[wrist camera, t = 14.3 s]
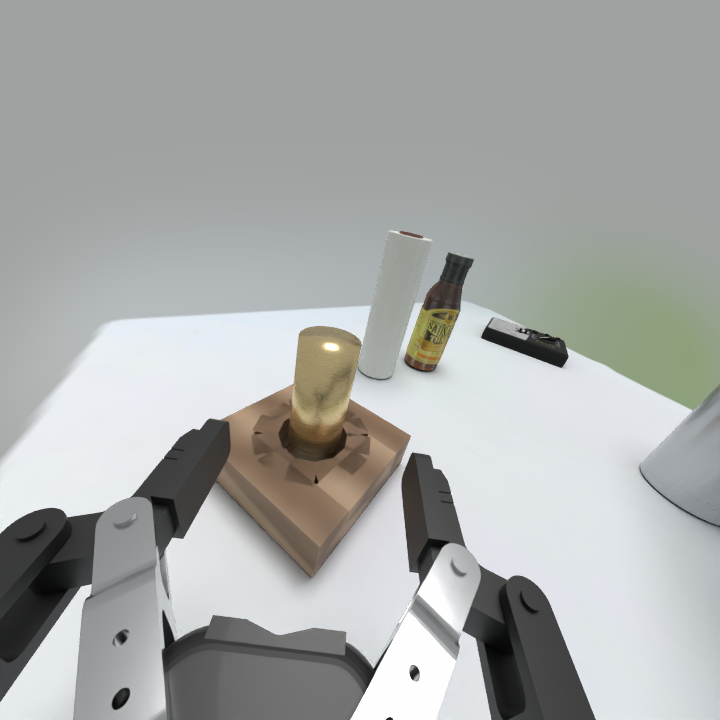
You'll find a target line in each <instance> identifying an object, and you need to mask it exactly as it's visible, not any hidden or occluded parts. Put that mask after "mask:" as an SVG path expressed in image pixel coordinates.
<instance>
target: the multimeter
mask: <svg viewBox="0 0 720 720" xmlns="http://www.w3.org/2000/svg"><path fill="white" fill-rule="evenodd" d="M481 338H482V339H485V340H488V341H490V342H493V343H496V344H498V345H501V346H504V347H506V348H509V349H512V350H514V351H517V352H520V353H523V354H525V355H528V356H531V357H533V358H536V359H539V360H541V361H544V362H547V363H549V364H552V365H555V366H558V367H561V368H562V367H563V365H564V364H565V363H566V361H567V359H568V353H567V349H566V346H565V342H564V341H563V340H560V338H554V337H552V336H549V335H548V334H543V333H539V332H537V331H535V330H531V329H528V328H525V327H522V326H519V325H516V324H513V323H510V322H507V321H504V320H501V319H498V318H495V317H494V318H492V319H491V320H490V322H489V323H488V325H487V326H486V328H485V330H484V332H483V334H482V337H481Z"/></svg>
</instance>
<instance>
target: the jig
mask: <svg viewBox="0 0 720 720" xmlns="http://www.w3.org/2000/svg"><path fill="white" fill-rule="evenodd" d="M293 386H294V384H293V385H291V386H289V387H287V388H285V389H283V390H280V391H278V392H276V393H274V394H272V395H270V396H268V397H266V398H264V399H262V400H260V401H258V402H256V403H254V404H252V405H250V406H248V407H246V408H244V409H242V410H240V411H238V412H236V413H234V414H232V415H230V416H228V417H226V418H224V419H221V420H222V421H228V422H229V425H230V441H231V449H230V454H229V457H228V459H227V461H226V463H225V465H224V467H223V469H222V470H221V472H220V474H219V476H218V477H217V479H216V481H217V482H218V483H219V484H220V485H221V486H222V487H223V488H224V489H225V490H226V491H227V492H228V493H229V494H230V495H231V496H232V497H233V498H234V499H235V501H236V502H237V503H238V504H239V505H240V506H241V507H242V508H243V509H244V510H245V511H246V512H247V513H248V514H249V515H250V516H251V517H252V518H253V519H254V520H255V521H256V522H257V523H258V524H259V525H260V526H261V527H262V528H263V529H264V530H265V531H266V532H267V533H268V534H269V535H270V536H271V537H272V538H273V539H274V540H275V541H276V542H277V543H278V544H279V545H280V546H281V547H282V548H283V549H284V550H285V551H286V552H287V553H288V554H289V555H290V556H291V557H292V558H293V559H294V560H295V561H296V562H297V563H298V564H299V565H300V566H301V567H302V568H303V569H304V570H305V571H306V572H307V573H308V574H309V575H310V576H311V577H312V578H313V576H314V575H315V574H316V572H317V571H318V570H319V568H320V567H321V566H322V564H323V563H324V562H325V561H326V559H327V558H328V557H329V555H330V554H331V553H332V551H333V550H334V549H335V548H336V546H337V545H338V544H339V542H340V541H341V540H342V538H343V537H344V536H345V534H346V533H347V532H348V531H349V529H350V528H351V527H352V525H353V524H354V523H355V521H356V520H357V519H358V517H359V516H360V515H361V514H362V512H363V511H364V510H365V508H366V507H367V506H368V504H369V503H370V502H371V500H372V499H373V498H374V497H375V495H376V494H377V493H378V491H379V490H380V489H381V487H382V486H383V485H384V483H385V482H386V481H387V480H388V478H389V477H390V476H391V474H392V473H393V472H394V470H395V469H396V468H397V467H398V465H399V464H400V463H401V460H402V457H403V455H404V452H405V450H406V447H407V445H408V442H409V440H410V437H411V436H410V435H409V434H407V433H405V432H404V431H402V430H400V429H399V428H397V427H395V426H394V425H392V424H390V423H389V422H387V421H385V420H384V419H382V418H380V417H379V416H377V415H375V414H374V413H372V412H371V411H369V410H367V409H366V408H364V407H362V406H361V405H359V404H357V403H356V402H354V401H352V400H351V399H349V403H348V407H347V412H346V416H345V420H344V425H343V429H342V434H341V438H340V442H339V447H338V451H337V455H336V456H335V457H334V458H330V459H326V460H322V461H317V462H313V461H308V460H303V459H299V458H295V457H294V456H293V455H291V454H290V453H289V452H288V451H286V450H285V449H284V448H286V447H287V442H288V433H289V423H290V414H291V405H292V395H293Z"/></svg>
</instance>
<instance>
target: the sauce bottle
mask: <svg viewBox="0 0 720 720" xmlns="http://www.w3.org/2000/svg"><path fill="white" fill-rule="evenodd" d="M473 261H474V259H473V258H472V257H469V256H465V255H462V254H458V253H454V252H449V253H448V255H447V257H446V264H445V267H444V269H443V272H442V275H441V276H440V280H439V282H437V283H436V284H435V285H434V286H433V287H432V288H431V289H430V290H429V292H428V293H427V295H426V298H425V301H424V304H423V305H422V308H421V311H420V314H419V316H418V319H417V322H416V325H415V328H414V330H413V333H412V336H411V339H410V342H409V345H408V347H407V353H406V355H405V360H406V362H407V363H408V364H409V365H410V366H412V367H414V368H416V369H419V370H424V371H430V370H433V369H434V368H436V366H437V364H438V362H439V361H440V358H441V356H442V353H443V351H444V349H445V346H446V344H447V342H448V339H449V337H450V334H451V332H452V330H453V327H454V325H455V322H456V320H457V318H458V315H459V313H460V304H461V294H462V286H463V284H464V280H465V277H466V275H467V272H468V270H469V269H470V267H471V266H472V263H473Z"/></svg>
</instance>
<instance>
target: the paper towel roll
mask: <svg viewBox="0 0 720 720" xmlns="http://www.w3.org/2000/svg"><path fill="white" fill-rule="evenodd" d="M432 243H433V240H431V239H429V238H428V239H426V238H423V236H420V235H416V234H412V233H408V232H403V231H400V232H396V231H389V232H388V236H387V241H386V246H385V249H384V254H383V258H382V263H381V267H380V271H379V276H378V280H377V284H376V289H375V293H374V297H373V302H372V306H371V310H370V315H369V319H368V323H367V328H366V332H365V336H364V341H363V345H362V349H361V354H360V358H359V362H358V367H359V369H360V371H361V372H362V373H364V374H365V375H367V376H369V377H372V378H377V379H387V378H389V377H391V376H392V374H393V371H394V368H395V365H396V361H397V358H398V355H399V352H400V348H401V345H402V342H403V338H404V335H405V332H406V329H407V325H408V322H409V319H410V315H411V312H412V309H413V306H414V302H415V299H416V296H417V292H418V289H419V285H420V283H421V279H422V276H423V273H424V269H425V266H426V263H427V260H428V256H429V253H430V250H431V246H432Z"/></svg>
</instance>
